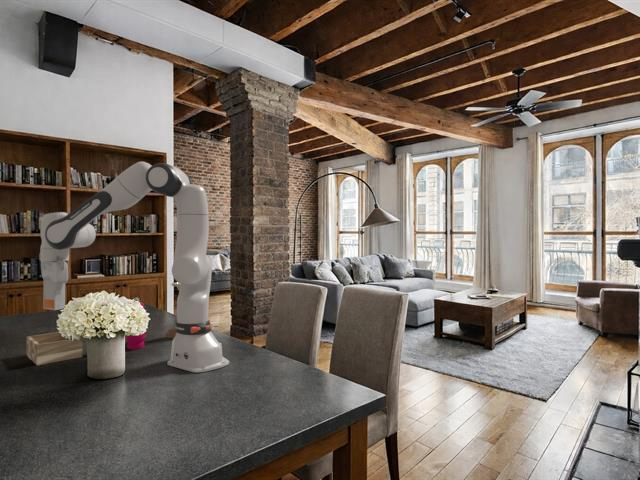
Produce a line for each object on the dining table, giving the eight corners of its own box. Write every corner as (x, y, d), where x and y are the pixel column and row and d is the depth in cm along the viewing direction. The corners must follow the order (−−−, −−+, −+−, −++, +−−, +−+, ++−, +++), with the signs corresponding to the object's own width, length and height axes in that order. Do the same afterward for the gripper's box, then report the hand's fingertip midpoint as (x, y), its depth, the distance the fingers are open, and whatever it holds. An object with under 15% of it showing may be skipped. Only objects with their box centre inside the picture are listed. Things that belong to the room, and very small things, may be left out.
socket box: (82, 356, 148) (82, 337, 148) (37, 365, 138) (37, 345, 137) (69, 347, 159) (69, 330, 159) (26, 355, 148) (26, 336, 148)
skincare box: (42, 309, 147) (42, 276, 147) (53, 307, 151) (53, 275, 151) (54, 310, 145) (55, 277, 145) (65, 308, 149) (65, 276, 149)
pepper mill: (140, 350, 157) (141, 299, 157) (122, 349, 158) (122, 298, 157) (148, 344, 165) (149, 296, 164) (131, 344, 165) (131, 296, 164)
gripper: (73, 257, 143) (73, 295, 143) (57, 254, 157) (56, 289, 157) (52, 257, 138) (52, 297, 138) (37, 254, 152) (37, 291, 152)
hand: (54, 293), depth 148 cm, fingers closed on skincare box, 7 cm apart
